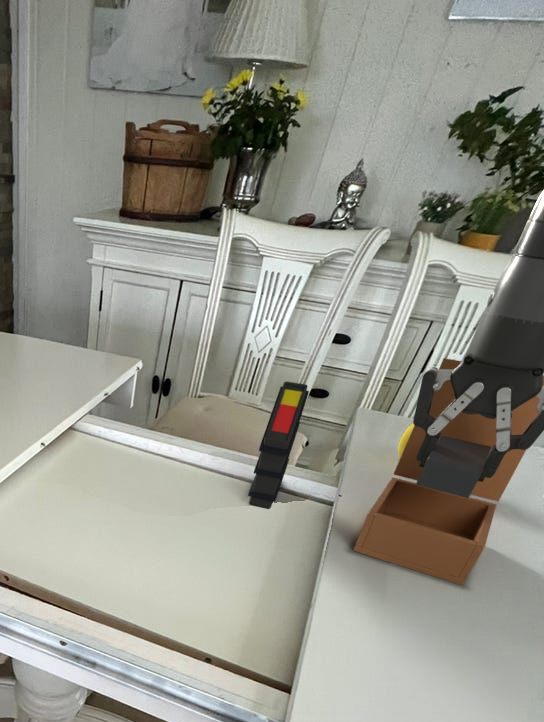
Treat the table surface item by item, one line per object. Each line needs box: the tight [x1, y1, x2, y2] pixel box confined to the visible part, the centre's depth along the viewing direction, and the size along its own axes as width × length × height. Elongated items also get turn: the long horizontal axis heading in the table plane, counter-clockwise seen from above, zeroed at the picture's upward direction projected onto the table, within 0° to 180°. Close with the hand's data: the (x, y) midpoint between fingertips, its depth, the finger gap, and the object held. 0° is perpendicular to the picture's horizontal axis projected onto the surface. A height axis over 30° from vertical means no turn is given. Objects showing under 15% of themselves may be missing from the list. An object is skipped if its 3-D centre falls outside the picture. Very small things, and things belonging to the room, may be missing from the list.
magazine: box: [247, 381, 310, 510], centre depth 82 cm, size 4×13×15 cm, turn 156°
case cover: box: [393, 357, 544, 502], centre depth 75 cm, size 14×13×6 cm
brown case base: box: [352, 476, 498, 586], centre depth 74 cm, size 14×13×5 cm
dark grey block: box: [415, 436, 491, 498], centre depth 69 cm, size 6×10×3 cm, turn 144°
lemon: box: [397, 423, 414, 459], centre depth 93 cm, size 6×6×8 cm
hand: (451, 471), depth 69 cm, fingers closed on dark grey block, 5 cm apart
